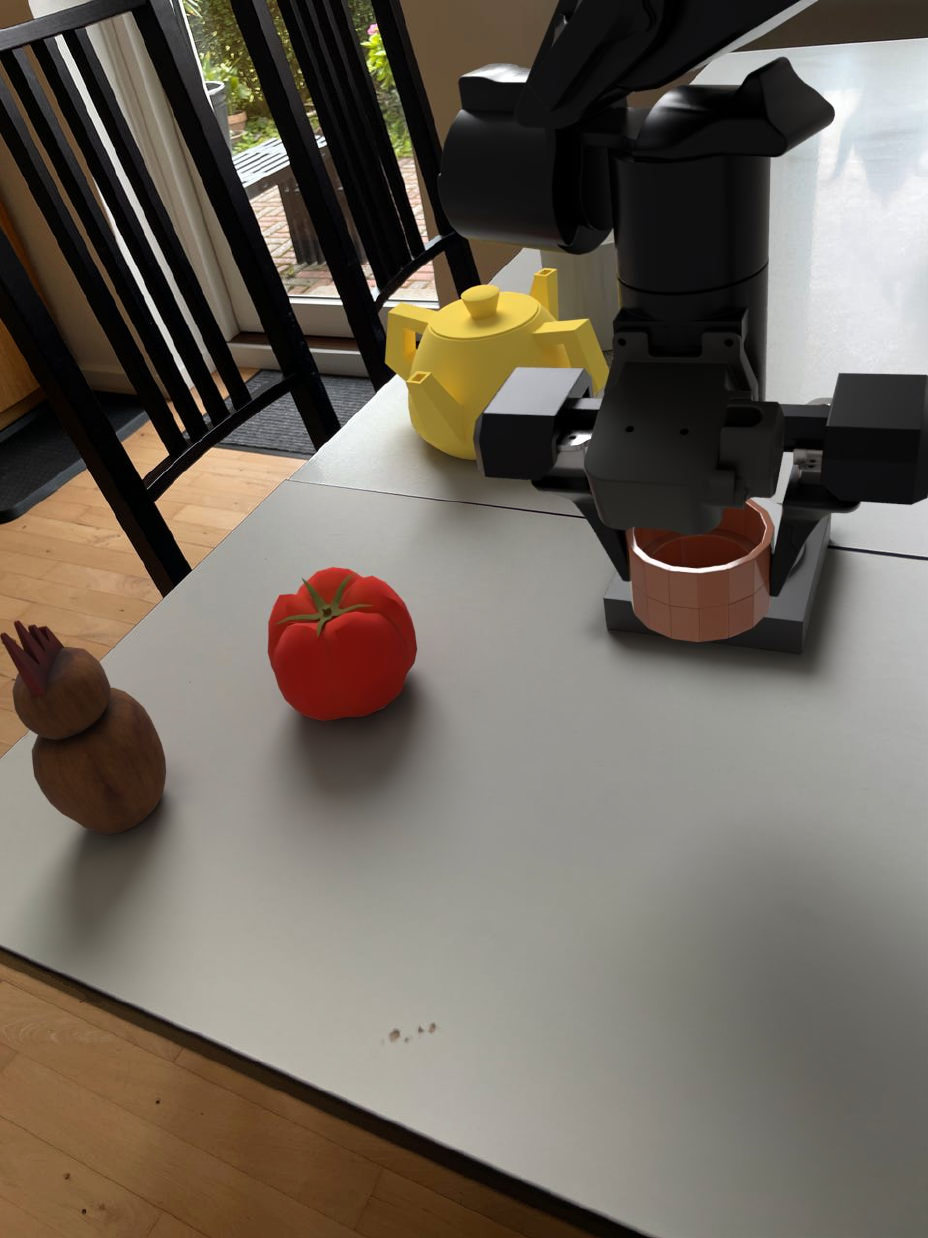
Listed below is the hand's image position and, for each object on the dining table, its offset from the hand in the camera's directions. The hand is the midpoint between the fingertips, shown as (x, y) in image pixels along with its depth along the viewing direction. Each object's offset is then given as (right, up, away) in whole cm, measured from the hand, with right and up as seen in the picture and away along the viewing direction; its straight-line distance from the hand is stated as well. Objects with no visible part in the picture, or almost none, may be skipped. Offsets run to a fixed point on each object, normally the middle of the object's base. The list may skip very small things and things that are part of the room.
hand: (699, 584), depth 48 cm
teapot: (-8, +15, +40) cm, 43 cm away
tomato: (-18, -6, +16) cm, 25 cm away
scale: (+5, +1, +17) cm, 18 cm away
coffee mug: (+4, +27, +50) cm, 57 cm away
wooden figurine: (-31, -13, +11) cm, 35 cm away
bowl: (0, -1, +1) cm, 1 cm away
